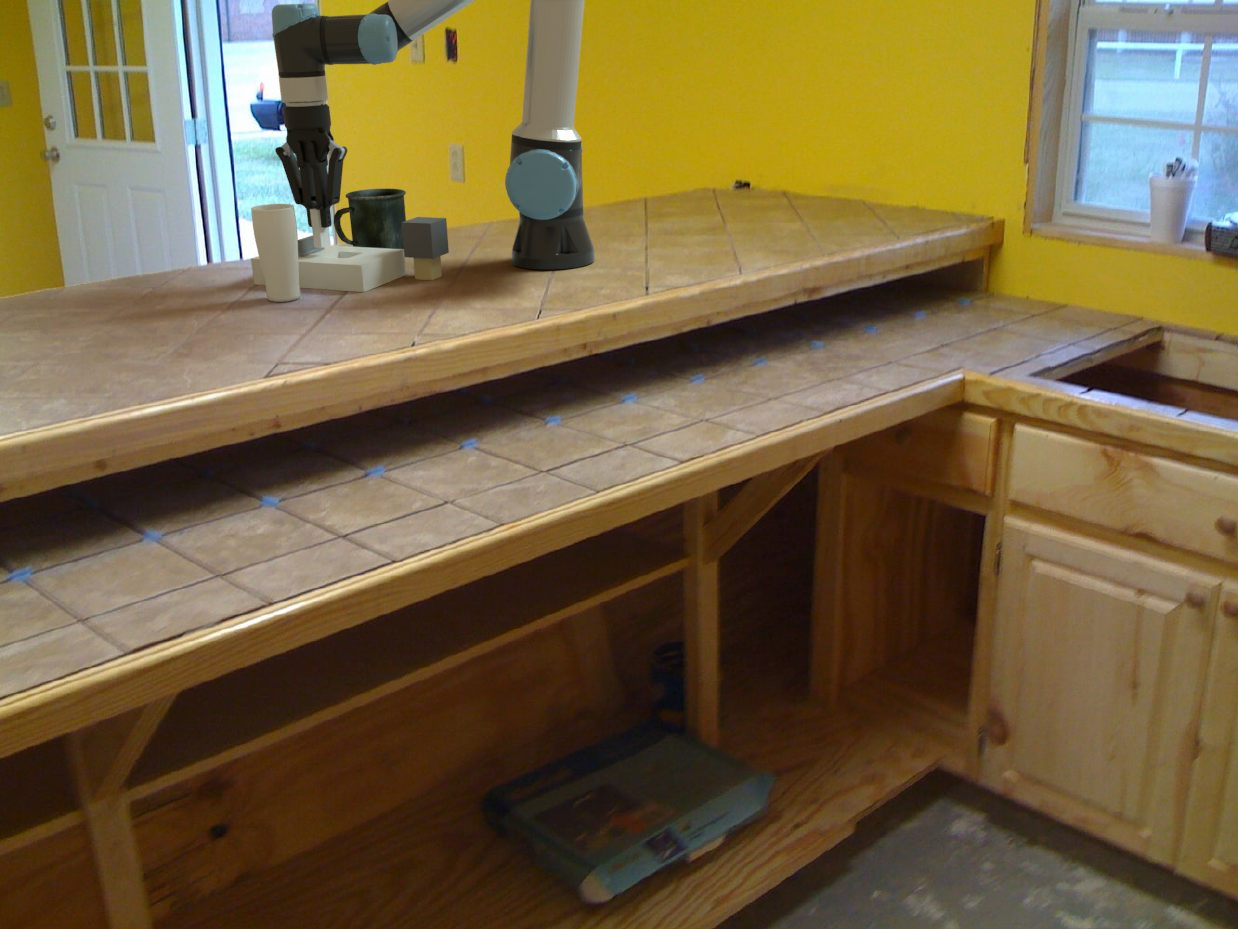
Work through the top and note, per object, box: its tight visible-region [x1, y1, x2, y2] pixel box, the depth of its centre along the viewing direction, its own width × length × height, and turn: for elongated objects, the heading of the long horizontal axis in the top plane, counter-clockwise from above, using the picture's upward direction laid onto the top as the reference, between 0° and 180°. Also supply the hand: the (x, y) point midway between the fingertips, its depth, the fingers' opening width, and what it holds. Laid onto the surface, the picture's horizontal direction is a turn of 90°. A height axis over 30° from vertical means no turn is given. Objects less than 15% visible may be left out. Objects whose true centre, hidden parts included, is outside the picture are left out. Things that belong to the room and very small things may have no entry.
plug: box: [401, 216, 450, 281], centre depth 206 cm, size 6×6×10 cm
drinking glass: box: [251, 203, 301, 303], centre depth 192 cm, size 7×7×15 cm
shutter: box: [298, 234, 324, 256], centre depth 208 cm, size 6×6×3 cm
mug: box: [333, 188, 407, 249], centre depth 224 cm, size 11×15×12 cm
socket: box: [250, 244, 407, 293], centre depth 207 cm, size 22×14×4 cm, turn 69°
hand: (322, 246), depth 205 cm, fingers closed
